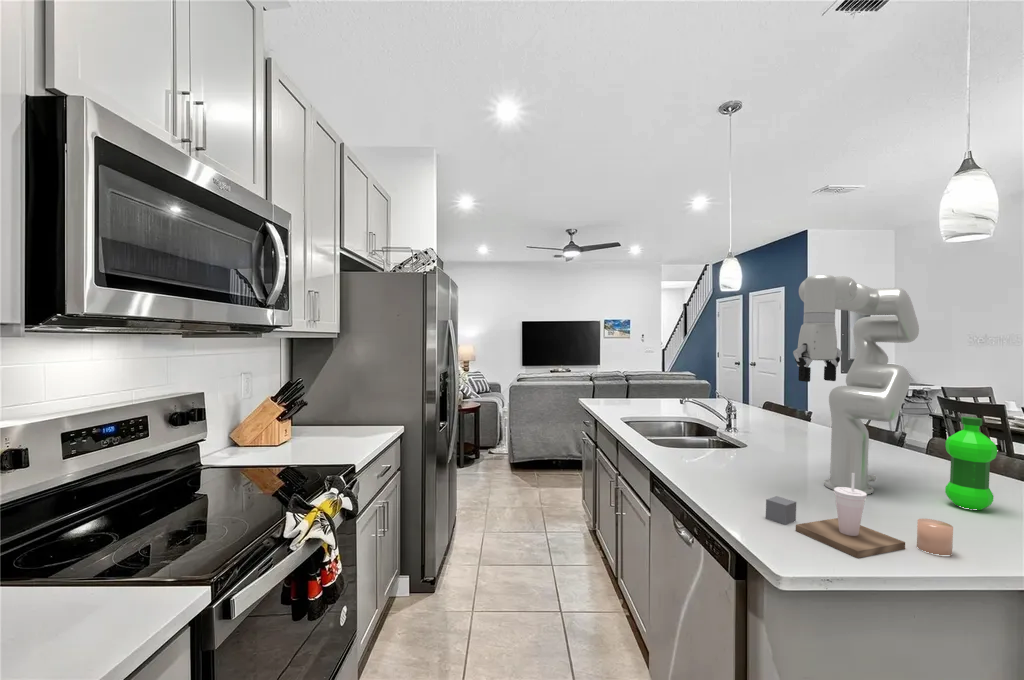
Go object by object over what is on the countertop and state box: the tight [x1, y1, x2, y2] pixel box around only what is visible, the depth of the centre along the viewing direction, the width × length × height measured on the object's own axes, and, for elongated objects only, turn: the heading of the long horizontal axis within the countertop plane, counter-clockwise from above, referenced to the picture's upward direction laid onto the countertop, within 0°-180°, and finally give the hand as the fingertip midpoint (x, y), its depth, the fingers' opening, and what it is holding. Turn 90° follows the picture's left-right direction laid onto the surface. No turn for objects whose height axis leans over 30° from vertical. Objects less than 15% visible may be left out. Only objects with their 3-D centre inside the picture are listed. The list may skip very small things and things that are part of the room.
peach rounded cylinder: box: [916, 518, 954, 555], centre depth 109 cm, size 6×6×6 cm
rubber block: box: [765, 495, 797, 526], centre depth 126 cm, size 5×5×5 cm
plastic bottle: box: [944, 416, 998, 511], centre depth 137 cm, size 10×10×25 cm
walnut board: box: [795, 517, 906, 559], centre depth 115 cm, size 15×15×2 cm
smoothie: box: [833, 473, 868, 536], centre depth 115 cm, size 6×6×14 cm
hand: (817, 380), depth 139 cm, fingers open, 9 cm apart
